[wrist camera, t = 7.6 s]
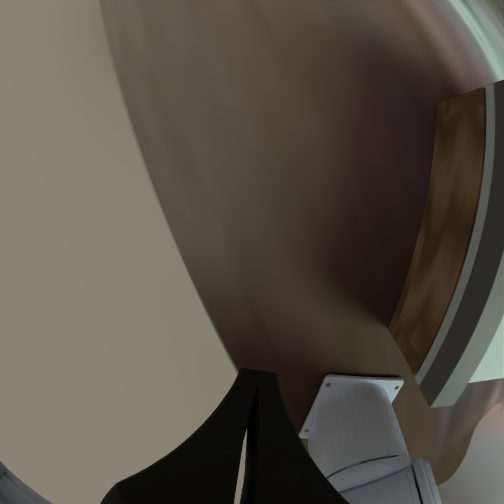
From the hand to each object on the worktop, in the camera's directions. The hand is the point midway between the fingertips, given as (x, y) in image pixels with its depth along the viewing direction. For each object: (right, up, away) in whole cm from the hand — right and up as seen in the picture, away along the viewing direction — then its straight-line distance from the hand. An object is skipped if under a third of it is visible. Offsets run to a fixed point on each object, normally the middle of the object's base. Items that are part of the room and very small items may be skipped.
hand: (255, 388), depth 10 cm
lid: (+20, +4, +1) cm, 21 cm away
